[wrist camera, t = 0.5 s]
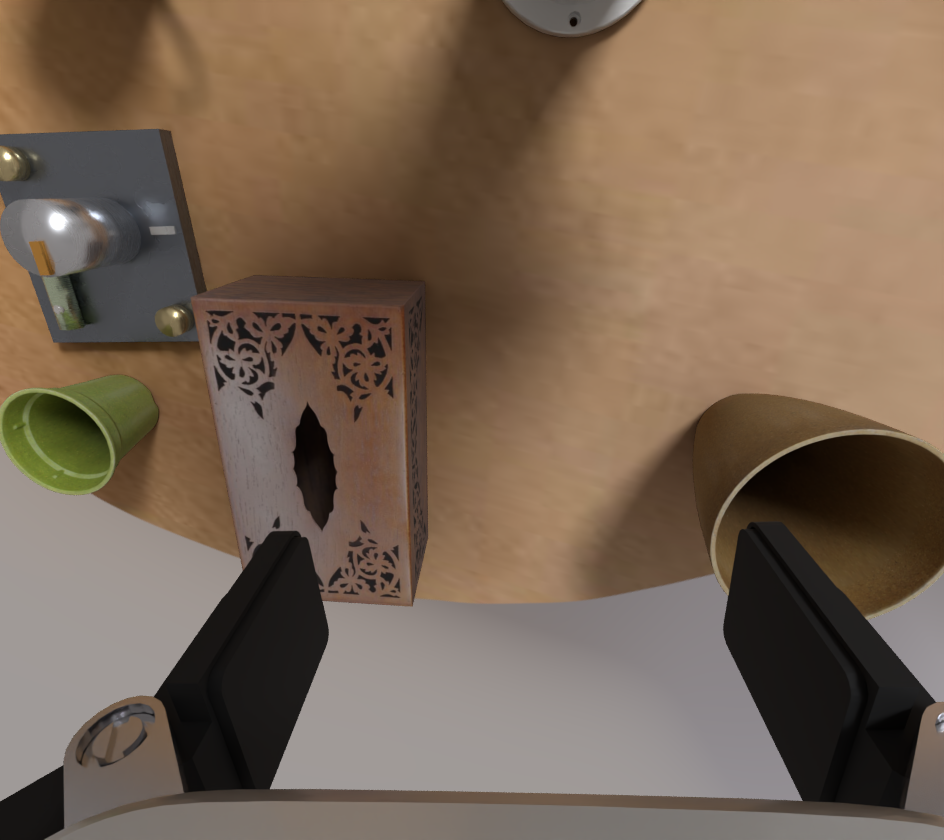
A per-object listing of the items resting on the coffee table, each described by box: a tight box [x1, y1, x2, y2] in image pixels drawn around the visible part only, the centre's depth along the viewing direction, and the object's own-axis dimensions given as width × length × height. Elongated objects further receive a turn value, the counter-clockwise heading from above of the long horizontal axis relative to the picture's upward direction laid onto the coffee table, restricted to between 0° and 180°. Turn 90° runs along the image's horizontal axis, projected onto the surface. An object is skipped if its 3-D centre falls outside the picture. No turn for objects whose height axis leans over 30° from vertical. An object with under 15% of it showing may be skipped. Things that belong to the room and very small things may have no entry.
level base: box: [0, 129, 207, 342], centre depth 42 cm, size 16×14×4 cm
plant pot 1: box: [0, 375, 159, 495], centre depth 46 cm, size 9×9×9 cm
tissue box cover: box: [191, 275, 428, 606], centre depth 45 cm, size 26×14×10 cm, turn 179°
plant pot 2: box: [693, 394, 944, 620], centre depth 40 cm, size 15×15×16 cm
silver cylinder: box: [0, 198, 141, 277], centre depth 38 cm, size 5×5×7 cm
